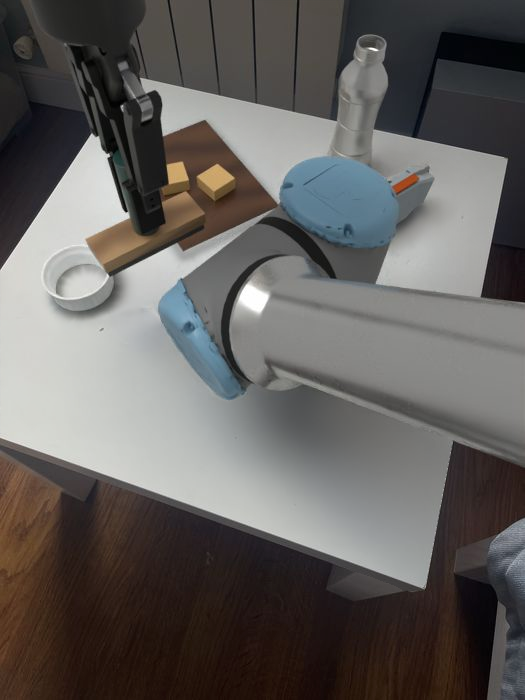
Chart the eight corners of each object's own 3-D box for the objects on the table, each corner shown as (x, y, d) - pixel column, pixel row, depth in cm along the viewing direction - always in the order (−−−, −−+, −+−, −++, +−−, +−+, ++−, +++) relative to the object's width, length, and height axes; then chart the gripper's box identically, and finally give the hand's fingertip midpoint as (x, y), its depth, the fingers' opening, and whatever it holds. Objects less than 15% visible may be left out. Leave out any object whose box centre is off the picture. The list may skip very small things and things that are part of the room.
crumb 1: (190, 190, 80) (189, 179, 78) (163, 195, 79) (161, 185, 77) (184, 171, 81) (182, 161, 80) (158, 176, 81) (156, 166, 79)
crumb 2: (235, 188, 80) (235, 178, 78) (215, 201, 79) (214, 191, 77) (218, 173, 81) (217, 163, 80) (197, 186, 80) (196, 176, 78)
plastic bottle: (373, 179, 83) (406, 55, 65) (332, 186, 82) (354, 62, 65) (360, 150, 86) (388, 24, 68) (320, 157, 85) (338, 31, 68)
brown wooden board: (279, 211, 80) (279, 205, 78) (184, 256, 75) (183, 251, 74) (205, 125, 88) (204, 119, 87) (116, 161, 84) (114, 155, 83)
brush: (207, 229, 59) (197, 143, 49) (108, 279, 55) (76, 198, 45) (188, 207, 60) (175, 119, 50) (91, 254, 57) (56, 170, 47)
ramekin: (51, 323, 70) (40, 304, 66) (50, 268, 74) (40, 248, 70) (120, 312, 71) (113, 293, 67) (116, 259, 75) (109, 239, 71)
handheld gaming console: (412, 195, 82) (427, 153, 75) (426, 207, 80) (443, 165, 73) (341, 239, 77) (350, 199, 70) (355, 252, 76) (366, 213, 69)
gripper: (-27, -81, 36) (75, 184, 57) (77, 35, 30) (149, 285, 50) (76, -109, 38) (138, 156, 59) (193, -6, 32) (217, 249, 52)
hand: (143, 215), depth 54 cm, fingers closed on brush, 3 cm apart
